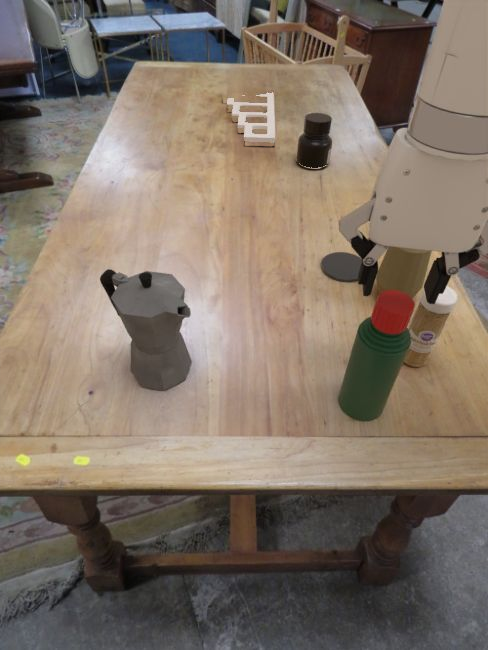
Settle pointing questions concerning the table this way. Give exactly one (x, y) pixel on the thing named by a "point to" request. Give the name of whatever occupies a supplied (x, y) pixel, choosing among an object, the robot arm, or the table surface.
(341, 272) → the coaster
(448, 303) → the sprinkles bottle
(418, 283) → the squeeze bottle
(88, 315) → the table surface
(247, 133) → the holder
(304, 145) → the ink bottle
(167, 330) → the coffeepot
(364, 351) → the bottle
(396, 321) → the cap
